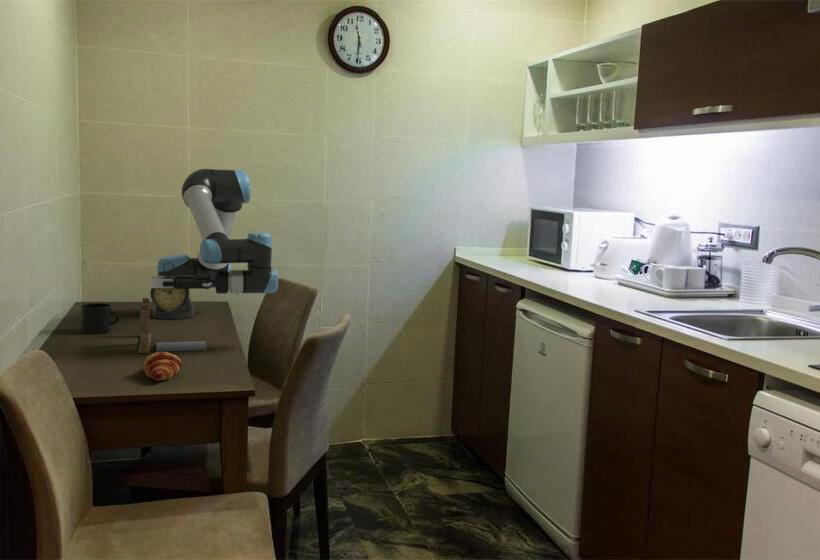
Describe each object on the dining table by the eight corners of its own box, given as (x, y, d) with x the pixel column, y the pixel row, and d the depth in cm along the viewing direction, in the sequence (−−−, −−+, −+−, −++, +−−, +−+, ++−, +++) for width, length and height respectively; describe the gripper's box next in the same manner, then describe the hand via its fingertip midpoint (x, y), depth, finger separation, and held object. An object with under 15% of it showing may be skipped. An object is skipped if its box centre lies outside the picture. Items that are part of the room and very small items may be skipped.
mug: (117, 334, 254) (116, 307, 253) (78, 334, 252) (78, 307, 251) (121, 328, 264) (121, 303, 262) (84, 328, 261) (84, 303, 260)
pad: (156, 345, 241) (156, 342, 241) (205, 343, 246) (205, 341, 246) (156, 351, 233) (156, 348, 233) (206, 349, 237) (206, 347, 237)
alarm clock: (151, 315, 232) (151, 263, 229) (150, 312, 236) (149, 261, 234) (188, 314, 236) (188, 263, 234) (186, 311, 241) (186, 261, 239)
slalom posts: (141, 335, 253) (141, 297, 252) (151, 335, 254) (150, 297, 252) (138, 353, 229) (138, 311, 227) (149, 353, 230) (148, 311, 228)
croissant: (154, 376, 217) (140, 353, 216) (186, 360, 219) (173, 336, 217) (149, 396, 197) (133, 370, 195) (184, 377, 199) (169, 351, 197)
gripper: (230, 298, 232) (150, 298, 225) (226, 289, 249) (152, 289, 243) (230, 273, 231) (150, 273, 224) (226, 266, 248) (152, 266, 242)
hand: (151, 282), depth 233 cm, fingers closed on alarm clock, 5 cm apart
